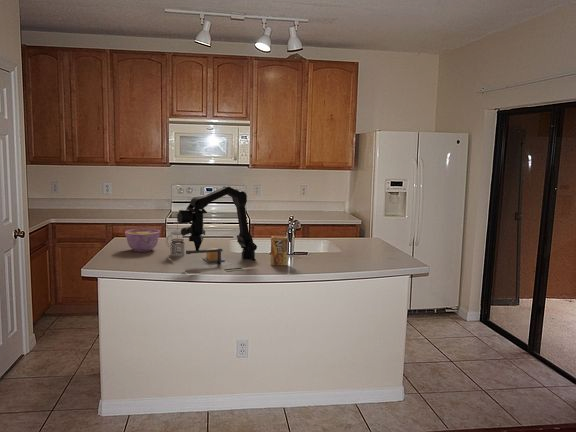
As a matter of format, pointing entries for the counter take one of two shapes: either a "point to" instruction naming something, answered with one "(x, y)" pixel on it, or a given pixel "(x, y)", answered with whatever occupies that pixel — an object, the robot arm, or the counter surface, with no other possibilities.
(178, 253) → the french press
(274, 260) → the candy box
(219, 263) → the black knob lever
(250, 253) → the robot arm
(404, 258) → the counter surface
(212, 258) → the orange cube
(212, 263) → the socket plate
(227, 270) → the pad
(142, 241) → the bowl of food
